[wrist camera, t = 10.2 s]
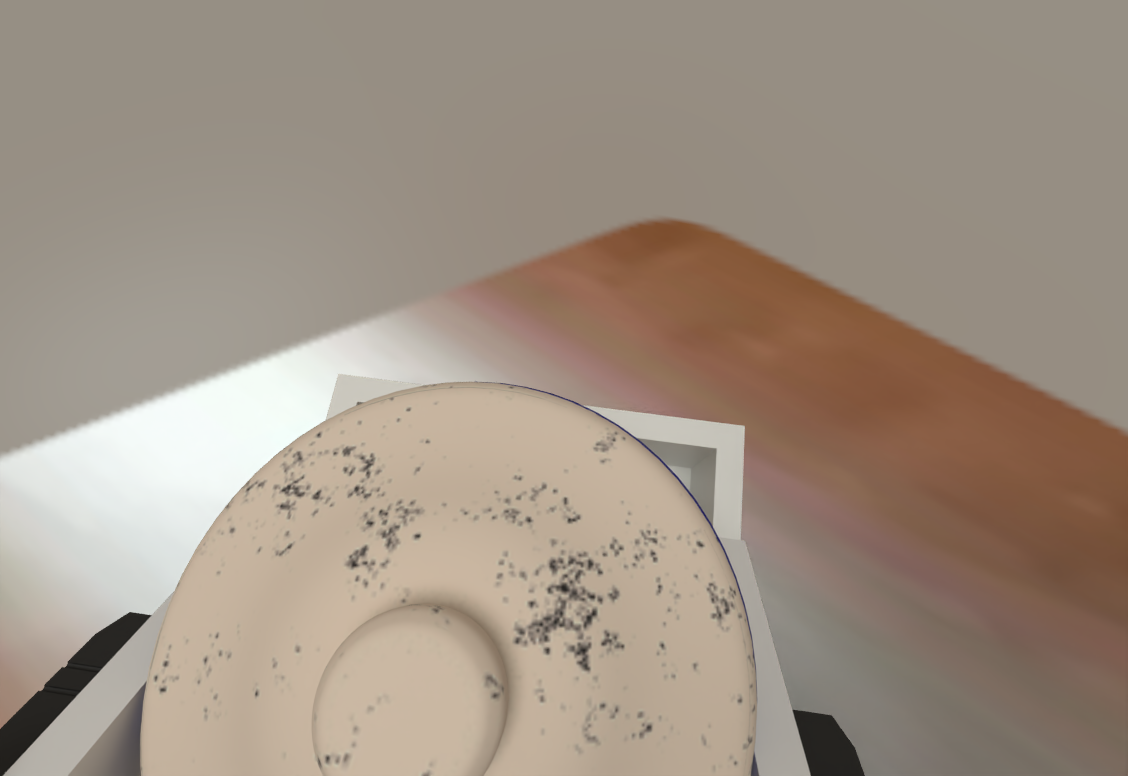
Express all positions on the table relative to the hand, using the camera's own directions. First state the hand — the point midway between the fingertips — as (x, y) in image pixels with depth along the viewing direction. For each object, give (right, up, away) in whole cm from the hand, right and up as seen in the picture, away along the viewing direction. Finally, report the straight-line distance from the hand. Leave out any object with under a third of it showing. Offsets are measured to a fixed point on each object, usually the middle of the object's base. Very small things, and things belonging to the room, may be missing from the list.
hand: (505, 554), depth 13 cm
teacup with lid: (-1, -4, +3) cm, 5 cm away
